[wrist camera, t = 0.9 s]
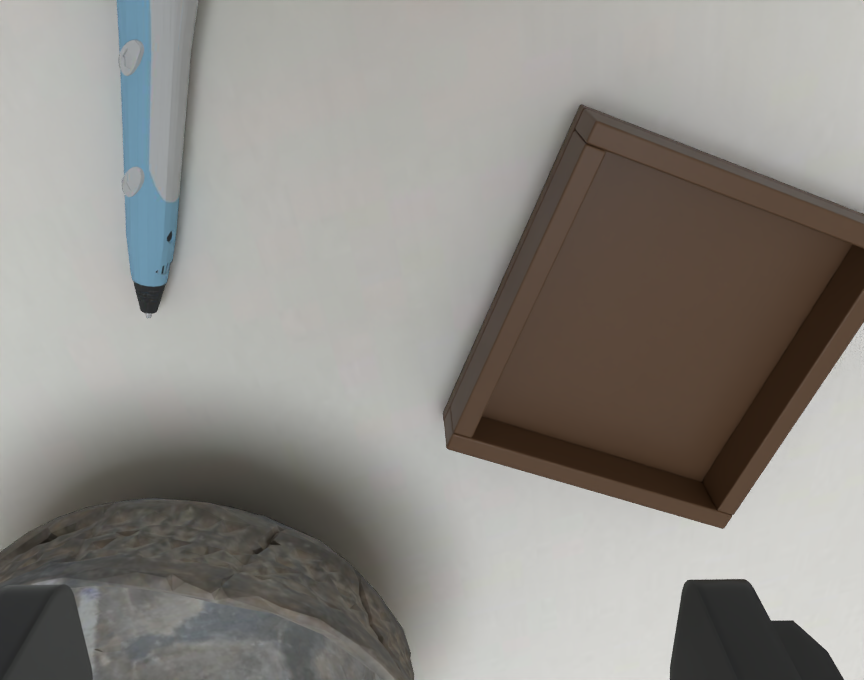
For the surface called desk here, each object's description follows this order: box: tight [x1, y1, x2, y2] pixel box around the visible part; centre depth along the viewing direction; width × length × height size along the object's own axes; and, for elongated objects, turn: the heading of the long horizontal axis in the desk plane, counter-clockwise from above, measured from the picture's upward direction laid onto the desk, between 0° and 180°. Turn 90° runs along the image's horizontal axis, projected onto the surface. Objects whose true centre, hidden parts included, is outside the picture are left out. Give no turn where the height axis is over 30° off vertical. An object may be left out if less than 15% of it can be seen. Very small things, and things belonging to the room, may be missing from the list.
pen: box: [117, 0, 199, 318], centre depth 26 cm, size 19×3×3 cm, turn 169°
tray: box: [443, 105, 864, 529], centre depth 32 cm, size 14×13×3 cm
